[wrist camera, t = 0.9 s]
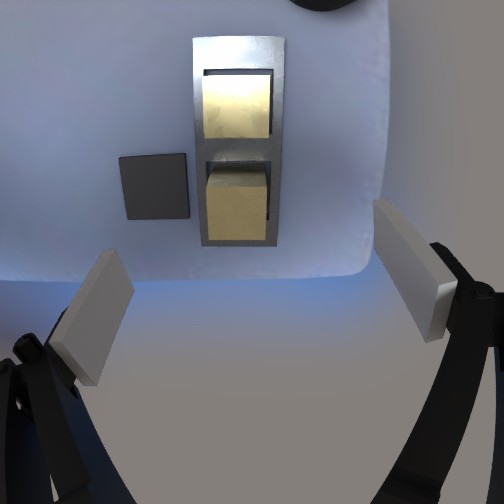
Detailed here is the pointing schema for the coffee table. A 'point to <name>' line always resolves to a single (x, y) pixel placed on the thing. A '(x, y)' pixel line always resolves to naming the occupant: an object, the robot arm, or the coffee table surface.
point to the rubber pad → (155, 186)
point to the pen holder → (322, 4)
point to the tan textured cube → (237, 201)
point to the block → (236, 106)
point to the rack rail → (239, 149)
